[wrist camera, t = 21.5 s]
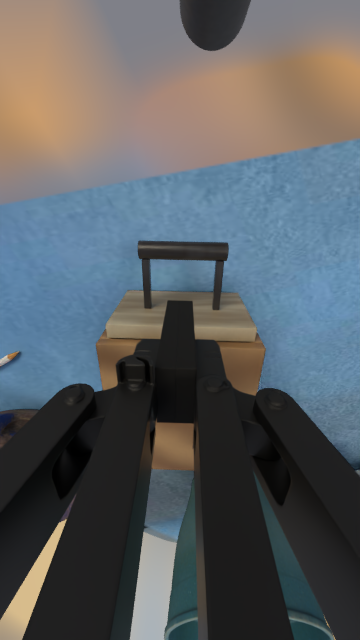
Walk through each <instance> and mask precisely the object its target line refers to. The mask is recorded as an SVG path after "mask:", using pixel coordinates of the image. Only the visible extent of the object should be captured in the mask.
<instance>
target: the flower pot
mask: <svg viewBox="0 0 360 640" xmlns="http://www.w3.org/2000/svg"><path fill="white" fill-rule="evenodd" d="M253 472H254V471H253ZM254 476H255V480H256V484H257V488H258V493H259V497H260V501H261V505H262V509H263V513H264V517H265V521H266V526H267V530H268V534H269V538H270V542H271V546H272V550H273V554H274V558H275V563H276V567H277V571H278V575H279V579H280V583H281V587H282V591H283V595H284V600H285V604H286V608H287V612H288V616H289V620H290V624H291V628H292V632H293V637H294V640H334V637H333V634H332V631H331V629H330V628H329V627H328V626H327V623H326V620H325V618H324V615H323V612H322V610H321V608H320V606H319V604H318V602H317V600H316V598H315V596H314V594H313V592H312V590H311V588H310V586H309V584H308V582H307V580H306V578H305V575H304V573H303V571H302V569H301V567H300V565H299V563H298V561H297V559H296V557H295V555H294V553H293V551H292V549H291V547H290V545H289V543H288V541H287V539H286V537H285V534H284V532H283V530H282V528H281V526H280V524H279V522H278V520H277V518H276V516H275V514H274V512H273V510H272V508H271V506H270V504H269V502H268V500H267V498H266V496H265V493H264V491H263V489H262V487H261V485H260V483H259V481H258V479H257V477H256V475H255V473H254ZM164 639H165V640H198V608H197V568H196V528H195V487H194V479H193V481H192V488H191V495H190V498H189V502H188V505H187V509H186V512H185V515H184V518H183V521H182V524H181V528H180V532H179V536H178V541H177V547H176V553H175V560H174V569H173V579H172V590H171V595H170V604H169V612H168V622H167V626H166V628H165V634H164Z"/></svg>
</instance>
